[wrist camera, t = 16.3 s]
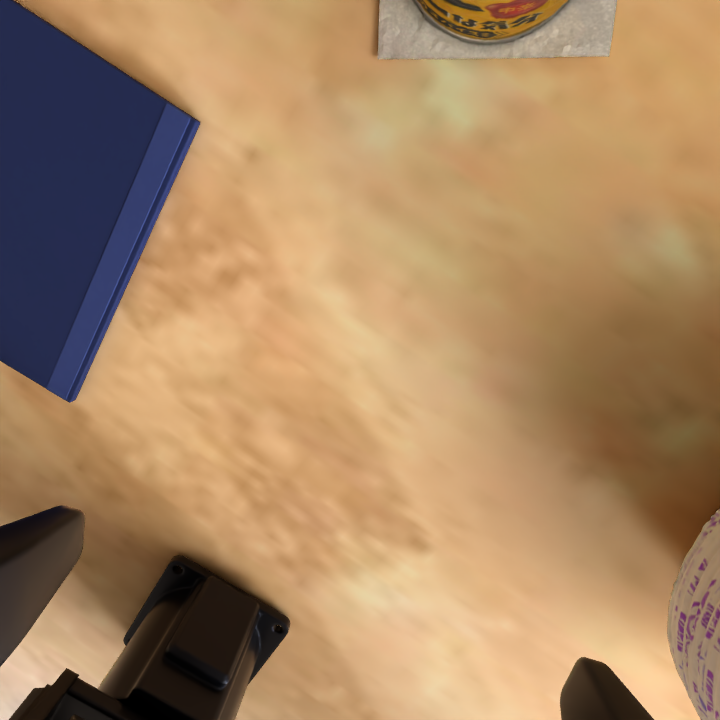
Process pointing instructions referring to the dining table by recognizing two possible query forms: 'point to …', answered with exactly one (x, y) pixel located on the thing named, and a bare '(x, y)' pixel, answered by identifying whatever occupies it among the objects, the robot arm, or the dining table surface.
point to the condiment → (494, 28)
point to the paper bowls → (698, 621)
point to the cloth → (73, 194)
